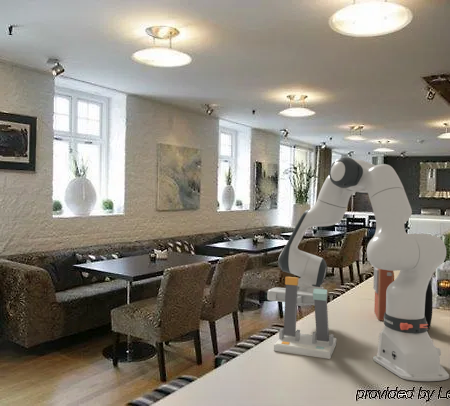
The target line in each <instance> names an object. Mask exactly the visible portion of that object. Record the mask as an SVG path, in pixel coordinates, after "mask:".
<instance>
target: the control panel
mask: <svg viewBox="0 0 450 406" xmlns="http://www.w3.org/2000/svg"><path fill="white" fill-rule="evenodd" d="M394 280H395V271H388V270H382V269H378V268H375V267H373V288H372V289H373V290H374V314H375V316H376V319H377V320H378V321H382V322H384V313H385V312H386V290H387V287H388V286H389V285H390V284H391V283H392V282H393V281H394Z"/></svg>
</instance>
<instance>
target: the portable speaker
mask: <svg viewBox="0 0 450 406" xmlns="http://www.w3.org/2000/svg"><path fill="white" fill-rule="evenodd" d="M432 289H433V288H432V278H431V279H430V281H429V284H428V286H427V290H426V297H425V313H424V316H425V317H426V321H427V324H428V325H427V327H428V330H427V332H428V331H429V330H430V328H431V324H432V318H433V317H432V316H433V304H434V303H433V299H434V298H433V297H434V296H433V290H432Z"/></svg>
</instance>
